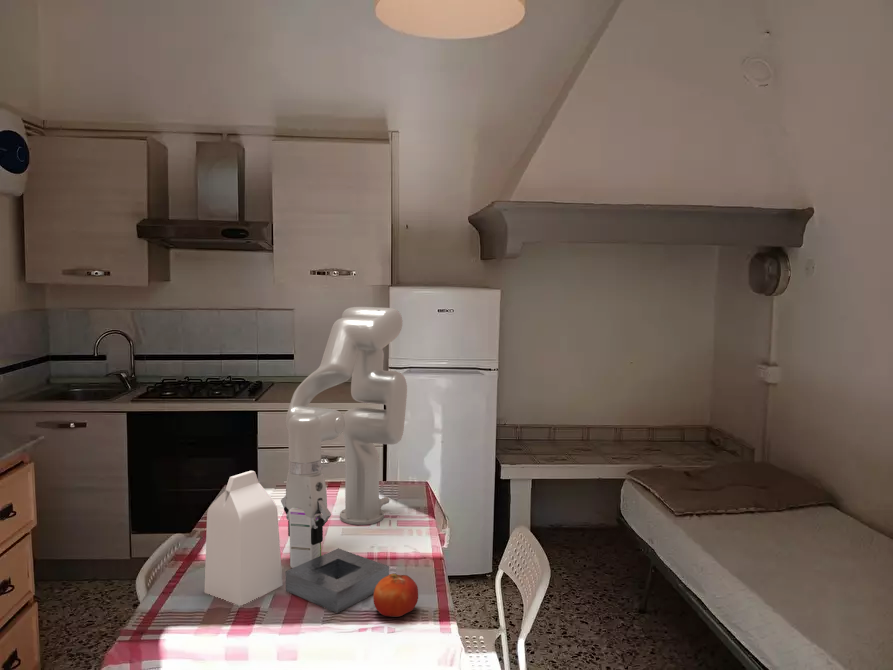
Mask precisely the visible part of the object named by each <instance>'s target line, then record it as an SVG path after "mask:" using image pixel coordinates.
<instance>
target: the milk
mask: <svg viewBox="0 0 893 670" xmlns="http://www.w3.org/2000/svg"><path fill="white" fill-rule="evenodd" d="M280 541H281V540H280V527H279V514H278V506H277V504H276V502H275V501H274V499H273V497H272V496H271V495H270V494H269V492H268V491H267V490H266V489H265V488H264V486H262V484H261V483H260V482H259V479H258V475H257V474H256V471H254V470H249V471H245V472H242V473H239V474H235V475H232V476H229V479H228V482H227V485H226V486H225V490H224V492H222V493H221V494H220V496H218V497H217V498H216V499H215V500H214V501H213V503H212V504H211V505H210V506H209V507H208V509H207V513H206V535H205V566H204V592H203V593H204V594H206V595H209V594H210V596H212V597H214V596H215V598H217V597H218V598H217V599H219V598H221V599H220V600H222V599H224V600H226V601H225V602H227V601H229V602H232V603H235V604H238V605H243V604H246V603H248V602H249V603H251V602H253V601H255V600H257V599H259V598H261V597H263V596H265V595H266V594H267V595H268V593H270V592H272V591H275V590H276V589H279V588H280V587H282V586H283V585H284V584H283V571H282V558H281V557H282V555H281V545H280V543H281V542H280ZM258 597H259V598H258ZM256 598H257V599H256ZM254 599H255V600H254ZM224 600H223V601H224ZM252 600H253V601H252ZM250 601H251V602H250ZM229 602H228V603H229ZM232 603H231V604H232ZM249 603H248V604H249ZM235 604H234V605H235ZM246 605H247V604H246Z"/></svg>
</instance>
